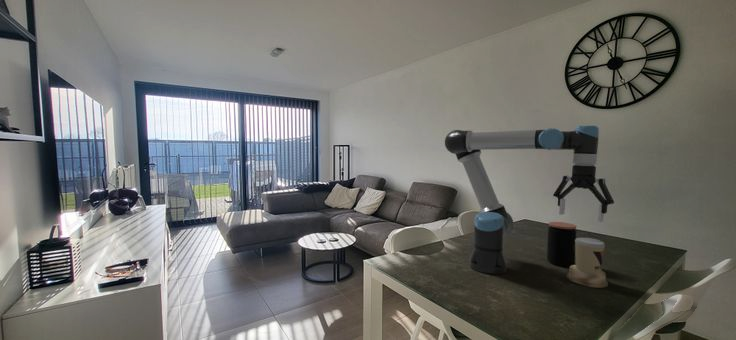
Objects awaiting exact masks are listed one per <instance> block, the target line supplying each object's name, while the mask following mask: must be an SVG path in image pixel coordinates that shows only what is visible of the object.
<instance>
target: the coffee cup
mask: <svg viewBox="0 0 736 340" xmlns="http://www.w3.org/2000/svg"><path fill="white" fill-rule="evenodd" d="M605 247H606V244H605V242H604V241H602V240H599V239H595V238H591V237H576V240H575V265H576V269H577V270H578V271H581V272H583V273H587V274H593V275H598V274H600V273H601V270H602V267H603V266H602V265H603V260H604V253H605Z"/></svg>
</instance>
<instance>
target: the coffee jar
mask: <svg viewBox="0 0 736 340" xmlns="http://www.w3.org/2000/svg"><path fill="white" fill-rule="evenodd" d="M548 226H549V227H548V228H547V244H546V245H547V248H546V259H547V261H548V262H549V264H551V265H554V266H557V267H561V268H562V267H563V268H569V267H570V266H571V265H576V249H575V240H576V238H577V231H576V229H577V225H576V224H573V223H570V222H563V221H549V222H548Z"/></svg>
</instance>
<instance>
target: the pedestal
mask: <svg viewBox="0 0 736 340" xmlns="http://www.w3.org/2000/svg"><path fill="white" fill-rule="evenodd" d="M568 268H569V271H568V273H567V274H566V278H567V279H568V280H570V281H571V282H573V283H575V284H578V285H581V286H583V287H589V288H595V289H596V288H597V289H599V288H600V289H603V288H607V287H608V285H609V282H608V281H607V280H606V279H607V276H606V275H607V273H606V272H605V271H603V270H602V269H601V273H600V274H598V275H593V274H587V273H583V272H581V271H578V270H577V269H576V264H574V265H571V266H570V267H568Z"/></svg>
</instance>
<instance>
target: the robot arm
mask: <svg viewBox="0 0 736 340" xmlns="http://www.w3.org/2000/svg"><path fill="white" fill-rule="evenodd" d="M599 130H600V129H599V127H598V126H596V125H577V126H575V129H574V130H571V131H570V130H569V131H564V130H563V131H562V130H559V129H557V128H546V129H528V130H527V129H526V130H504V131H503V130H502V131H501V130H500V131H483V132H473V131H472V130H461V129H454V130H452V131H450V132H449V133H447V135H446V136H445V139H444V146H445V148H446V150H447V151H448V152H449V153H451V154H454V155H455V156H456V159H457V161H458V162H459V163H462V165H463V168H464V170H465V173H466V175H467V177H468V180H469V182H470V185H471V188H472V190H473V192H474V195H475V197H476V200H477V202H478V204H479V207H480V210H479V212H478V213H477V214H476V215H475V217H474V222H473V223H474V236H473V239H474V240H473V250H472V252H471V255H470V257H469V260H468V261H469V263H468V264H469V265H468V266H469V267H470V268H471V269H472V270H474V271H477V272H480V273H483V274H488V275H489V274H491V275H501V274H504V273H506V272H507V270H508V269H507V267H508V266H507V265H508V264H507V261H506V258H505V254H504V252H503V251H504V249H503V248H504V237H506V236H507V235H509V234H510V233H511V232H512V231H513V227H514V219H513V217H512V215H510V213H509V212H507V210H506V208H505V206H504V204H502V203H500V201H499V200H498V198H497V195H496V193H495V190H494V188H493V185H492V184H491V180H490V179H489V176H488V174H487V171H486V169H485V167H484V164H483V162H482V159H481V155H482V150H549V151H550V150H556V151H557V150H561V151H563V150H567V151H568V150H570V151H571V150H572V151H573V156H572V157H573V158H572V163H573V165H572V170H571V176H569V175H563V176H562V180H561V182H560V183H559V185H558V187H557V188H556V189H555V191H554V193H553V197H556V198H557V206H558V207H559V209H558V210H559V212H558V214H559V215H565V210H566V198H565V197H566V196H568V194H570V193H571V192H572V191H573V190H574V189H575V188H577V189H583V190H584V189H587V190H589V191H590V192H591V193H592V194H593V195H594V197H595V198H596V199H597V201H598V202H599V203H600V204H598V211H597V222H598V223H601V222H604V215H605V214H607V213H608V206H609V205H613V204H614V203H615V200H614V199H613V196H612V195H611V192H610V191H609V188H608V186H607V185H606V179H605V178H596V171H597V167H596V165H597V159H598V149H599V138H600V137H599V134H600V133H599V132H600V131H599ZM570 181H571V182H572V183H571V184H570V185H568V187H567V188H566V189H565V190H564V188H565V187H566V186H567V184H568V182H570ZM595 183H597V185H598V186H599V188H600V191H601V192H600V191H599V190H598V188H597V187H596V186H595ZM602 194H603V195H602Z"/></svg>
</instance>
